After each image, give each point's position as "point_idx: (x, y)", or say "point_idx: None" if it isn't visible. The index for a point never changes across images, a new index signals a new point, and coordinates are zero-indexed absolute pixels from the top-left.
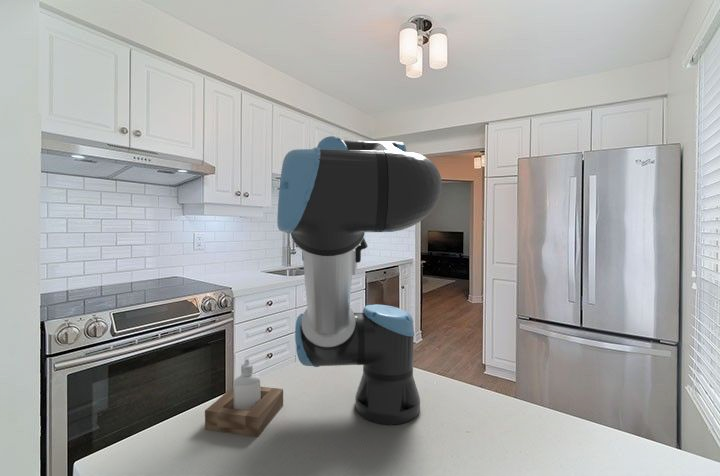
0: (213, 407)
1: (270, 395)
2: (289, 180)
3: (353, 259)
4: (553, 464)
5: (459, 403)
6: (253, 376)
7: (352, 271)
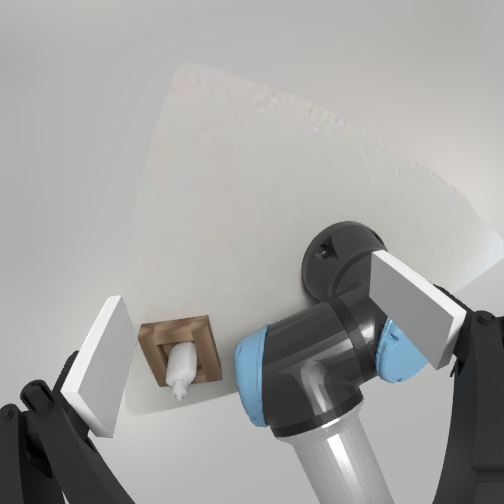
0: (162, 381)
1: (202, 346)
2: None
3: (414, 337)
4: (454, 288)
5: (419, 223)
6: (189, 381)
7: (377, 304)
